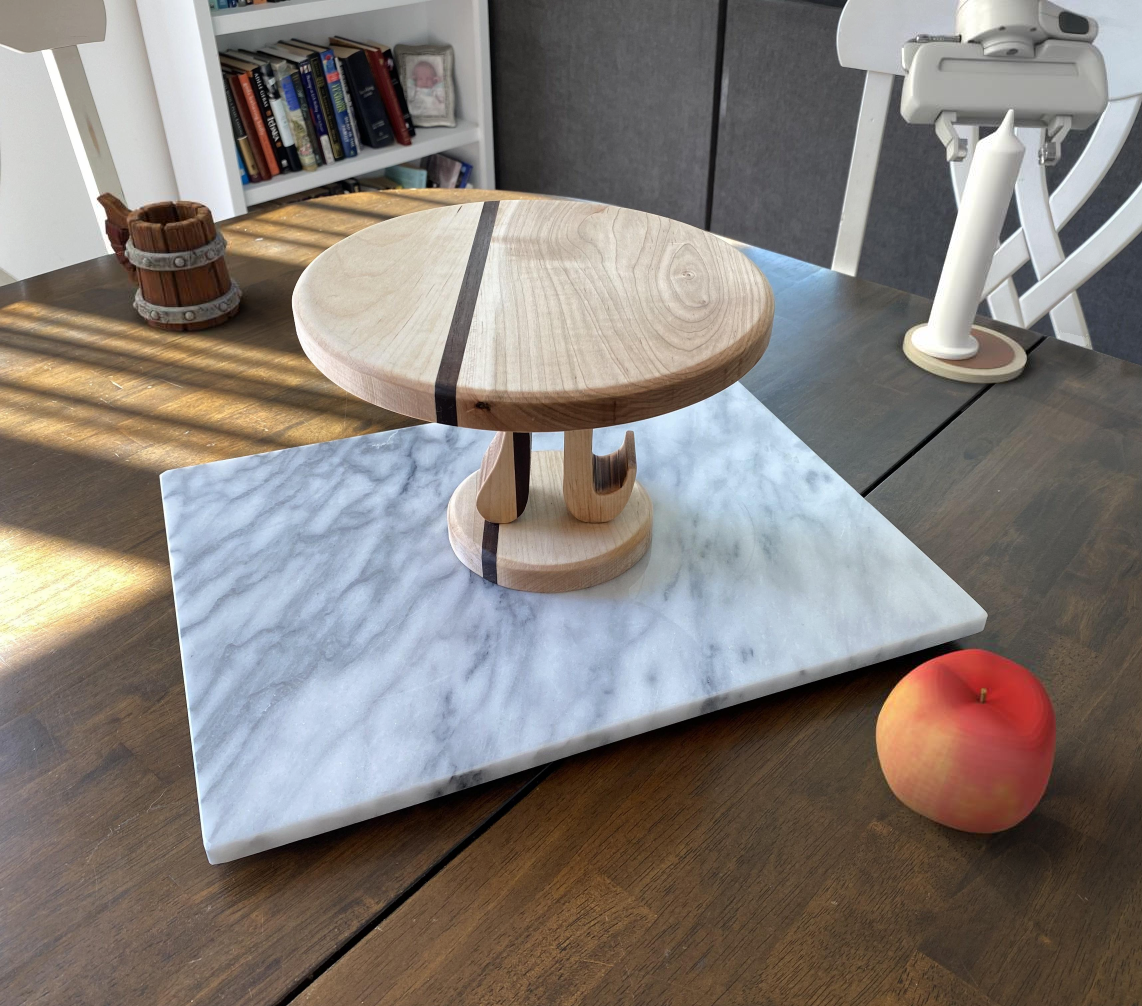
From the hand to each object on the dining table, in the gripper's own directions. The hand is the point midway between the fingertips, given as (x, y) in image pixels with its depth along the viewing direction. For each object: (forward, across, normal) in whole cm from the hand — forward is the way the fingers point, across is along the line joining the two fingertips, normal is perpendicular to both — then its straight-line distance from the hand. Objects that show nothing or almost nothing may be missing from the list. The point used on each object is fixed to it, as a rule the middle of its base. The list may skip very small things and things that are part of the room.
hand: (1003, 160), depth 96 cm
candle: (+17, -2, +11) cm, 20 cm away
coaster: (+17, 0, +12) cm, 21 cm away
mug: (+15, -90, +14) cm, 93 cm away
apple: (+60, -18, -30) cm, 69 cm away
